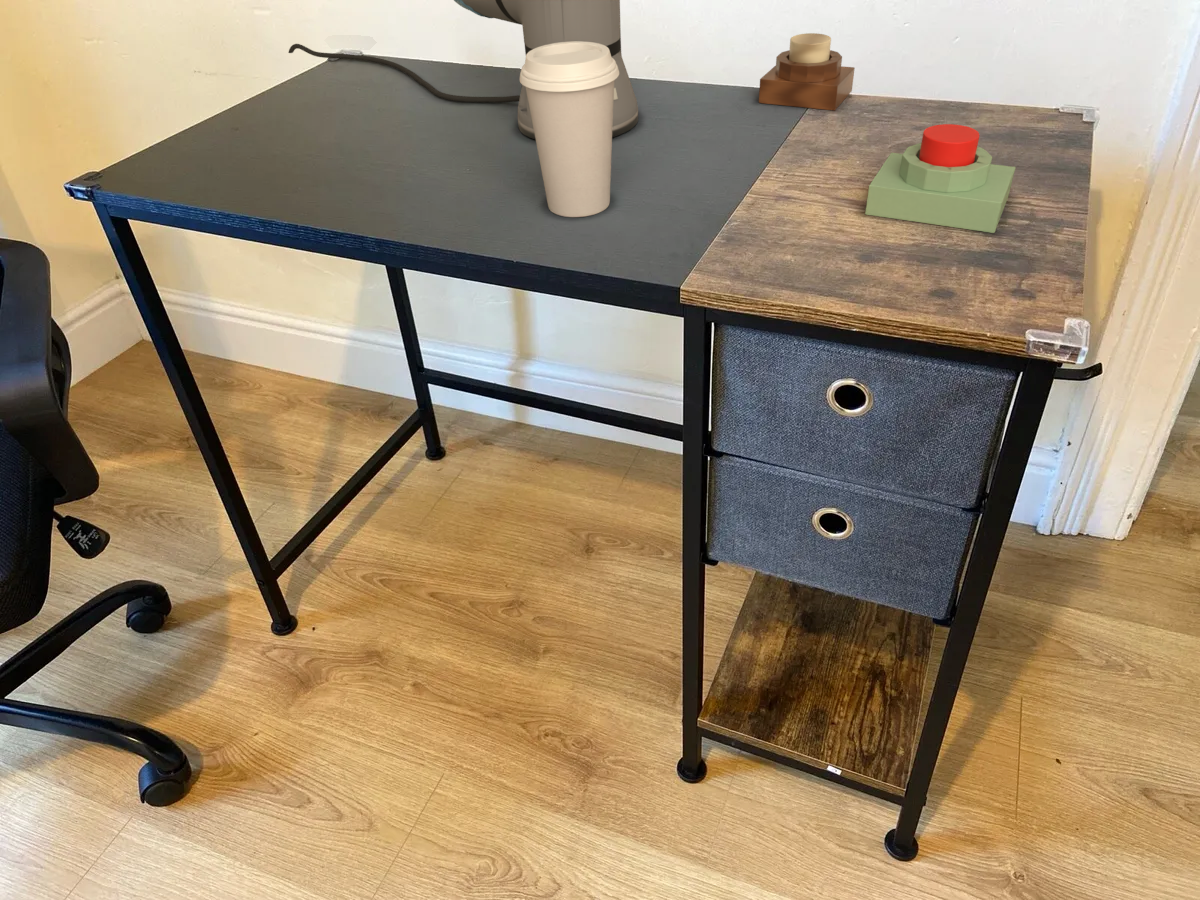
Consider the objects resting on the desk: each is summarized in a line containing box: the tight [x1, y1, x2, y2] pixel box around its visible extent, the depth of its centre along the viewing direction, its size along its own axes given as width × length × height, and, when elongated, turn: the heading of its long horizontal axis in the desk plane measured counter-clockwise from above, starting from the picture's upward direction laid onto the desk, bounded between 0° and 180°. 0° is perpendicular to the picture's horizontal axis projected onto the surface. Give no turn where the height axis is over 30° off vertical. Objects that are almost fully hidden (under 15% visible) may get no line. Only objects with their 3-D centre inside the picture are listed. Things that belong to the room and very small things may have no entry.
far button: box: [789, 32, 832, 63], centre depth 110 cm, size 5×5×3 cm
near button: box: [919, 123, 980, 167], centre depth 83 cm, size 5×5×2 cm
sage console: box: [864, 141, 1016, 234], centre depth 85 cm, size 12×9×5 cm
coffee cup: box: [519, 41, 619, 218], centre depth 87 cm, size 10×10×15 cm
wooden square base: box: [758, 49, 855, 111], centre depth 113 cm, size 10×8×5 cm
